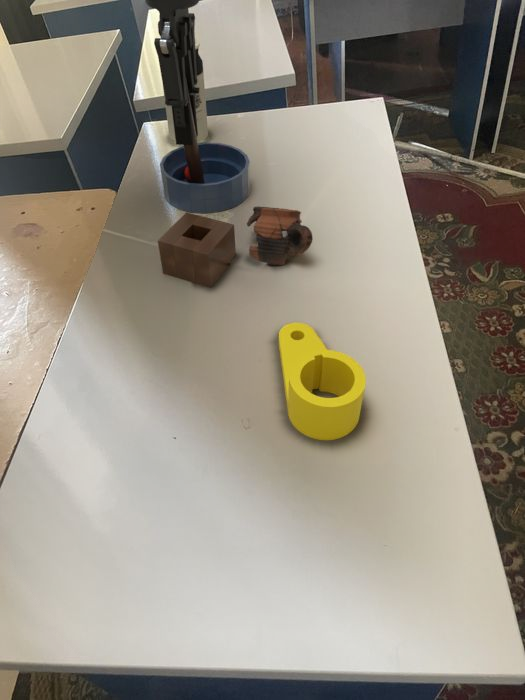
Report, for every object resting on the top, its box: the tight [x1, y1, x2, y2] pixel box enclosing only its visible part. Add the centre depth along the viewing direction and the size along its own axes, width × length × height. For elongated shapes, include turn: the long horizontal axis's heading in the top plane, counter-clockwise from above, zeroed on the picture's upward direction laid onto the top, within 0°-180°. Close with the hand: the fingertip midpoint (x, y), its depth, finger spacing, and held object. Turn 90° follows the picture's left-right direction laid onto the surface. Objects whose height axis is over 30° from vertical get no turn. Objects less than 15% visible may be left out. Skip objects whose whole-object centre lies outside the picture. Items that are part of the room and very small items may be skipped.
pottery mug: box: [246, 205, 313, 266], centre depth 88 cm, size 12×10×8 cm
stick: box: [182, 79, 205, 184], centre depth 93 cm, size 2×2×18 cm
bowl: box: [159, 141, 251, 214], centre depth 99 cm, size 15×15×6 cm
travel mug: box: [162, 38, 209, 143], centre depth 111 cm, size 8×8×18 cm
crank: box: [278, 322, 367, 441], centre depth 68 cm, size 18×8×6 cm, turn 14°
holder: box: [157, 211, 237, 289], centre depth 85 cm, size 8×8×6 cm
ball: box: [184, 166, 191, 182], centre depth 102 cm, size 3×3×3 cm
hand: (187, 139), depth 93 cm, fingers closed on stick, 2 cm apart
